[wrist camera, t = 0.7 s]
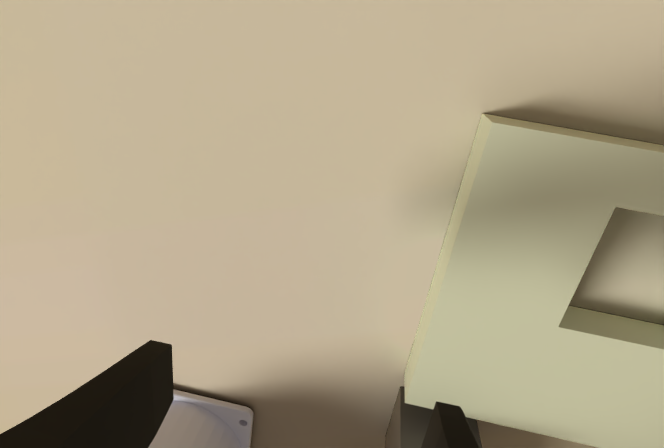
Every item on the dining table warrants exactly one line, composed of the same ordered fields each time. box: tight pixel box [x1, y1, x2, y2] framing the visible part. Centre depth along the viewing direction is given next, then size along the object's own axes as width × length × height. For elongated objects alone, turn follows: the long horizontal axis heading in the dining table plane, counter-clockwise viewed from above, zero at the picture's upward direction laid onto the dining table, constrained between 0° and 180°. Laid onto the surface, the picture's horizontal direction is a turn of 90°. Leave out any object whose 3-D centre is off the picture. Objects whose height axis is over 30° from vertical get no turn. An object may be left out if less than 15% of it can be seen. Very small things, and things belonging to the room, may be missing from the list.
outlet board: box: [404, 113, 664, 448], centre depth 18 cm, size 14×14×2 cm
